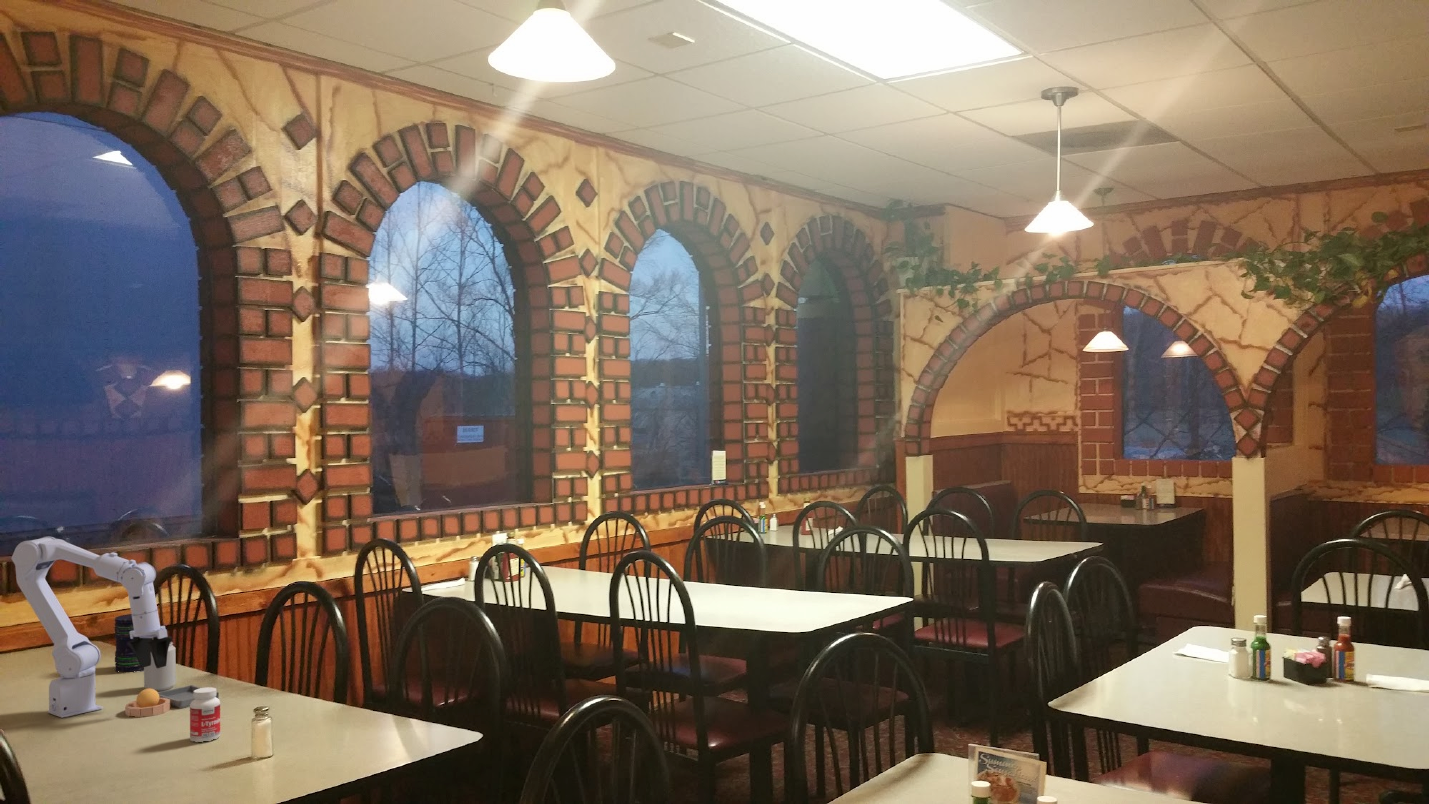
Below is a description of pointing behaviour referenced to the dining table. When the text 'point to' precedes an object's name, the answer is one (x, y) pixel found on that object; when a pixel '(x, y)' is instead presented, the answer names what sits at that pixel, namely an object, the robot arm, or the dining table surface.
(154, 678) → the can
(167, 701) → the dish
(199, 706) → the pill bottle
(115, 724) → the dining table surface
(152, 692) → the ball
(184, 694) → the tray
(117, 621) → the storage jar
